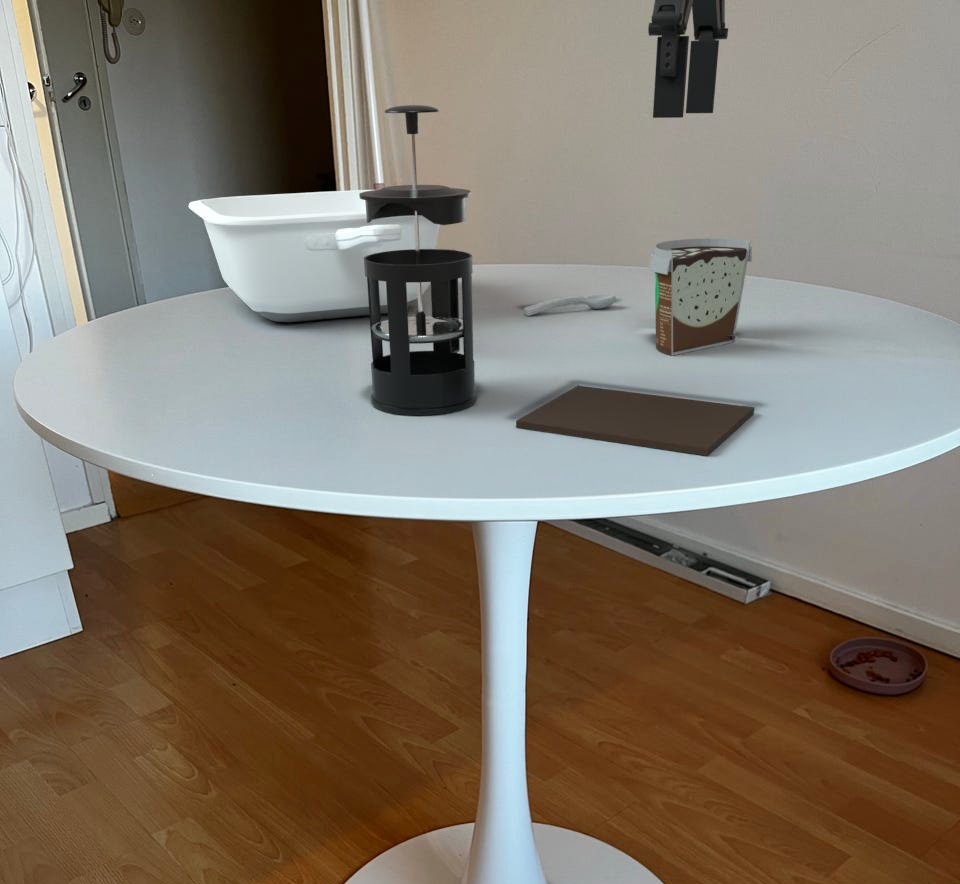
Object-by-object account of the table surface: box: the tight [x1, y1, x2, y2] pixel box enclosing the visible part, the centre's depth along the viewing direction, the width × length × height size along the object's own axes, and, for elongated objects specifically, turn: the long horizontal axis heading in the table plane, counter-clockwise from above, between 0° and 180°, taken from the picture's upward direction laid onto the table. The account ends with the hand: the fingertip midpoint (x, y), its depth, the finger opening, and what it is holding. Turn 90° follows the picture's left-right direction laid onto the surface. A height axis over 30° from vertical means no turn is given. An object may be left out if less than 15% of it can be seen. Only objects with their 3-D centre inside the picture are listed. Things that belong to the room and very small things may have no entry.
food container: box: [647, 237, 753, 356], centre depth 104 cm, size 12×6×10 cm, turn 126°
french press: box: [359, 104, 478, 416], centre depth 83 cm, size 12×9×23 cm
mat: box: [515, 385, 755, 457], centre depth 82 cm, size 16×12×1 cm
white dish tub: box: [188, 189, 441, 323], centre depth 117 cm, size 28×44×13 cm, turn 21°
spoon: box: [523, 293, 617, 317], centre depth 122 cm, size 3×12×2 cm, turn 111°
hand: (684, 115), depth 99 cm, fingers open, 13 cm apart
